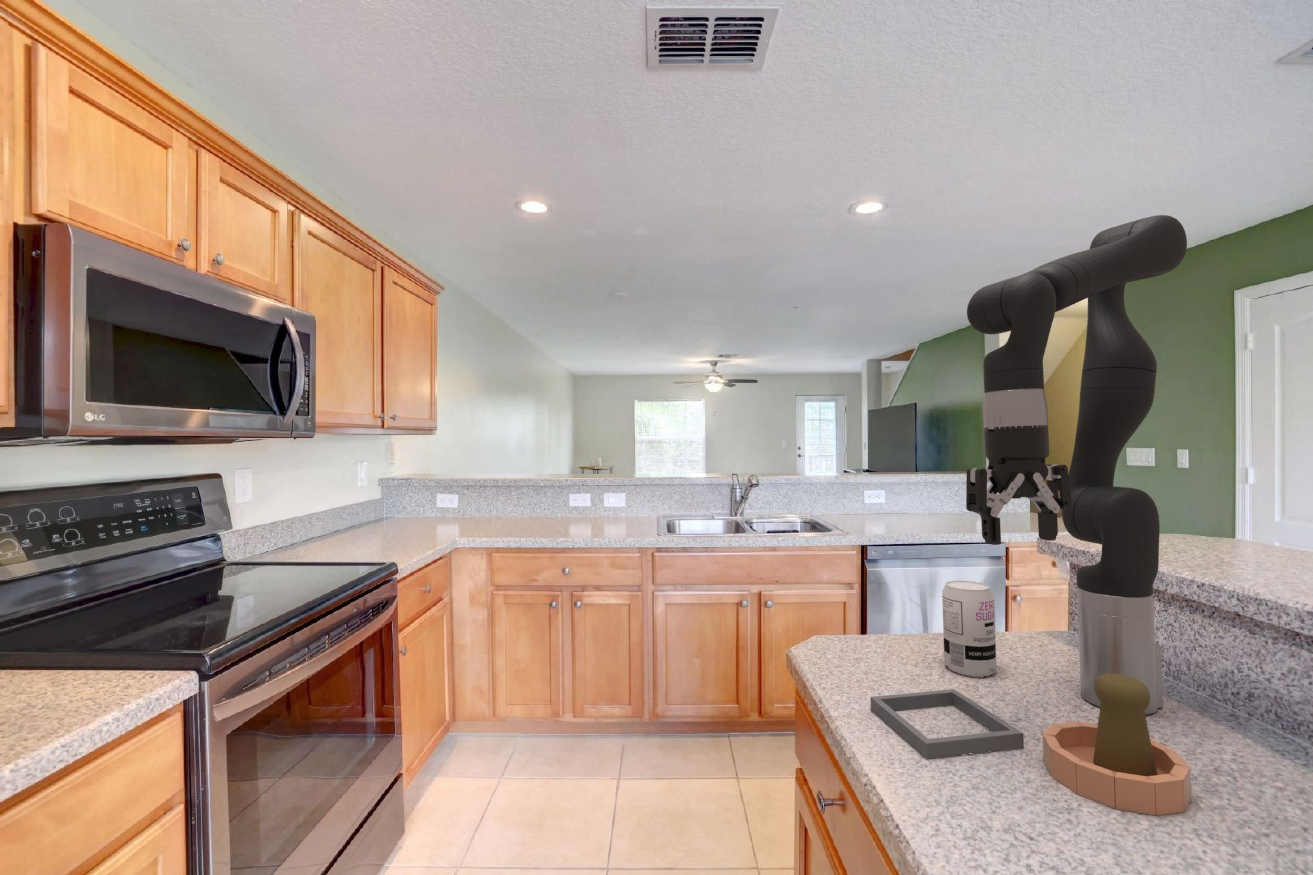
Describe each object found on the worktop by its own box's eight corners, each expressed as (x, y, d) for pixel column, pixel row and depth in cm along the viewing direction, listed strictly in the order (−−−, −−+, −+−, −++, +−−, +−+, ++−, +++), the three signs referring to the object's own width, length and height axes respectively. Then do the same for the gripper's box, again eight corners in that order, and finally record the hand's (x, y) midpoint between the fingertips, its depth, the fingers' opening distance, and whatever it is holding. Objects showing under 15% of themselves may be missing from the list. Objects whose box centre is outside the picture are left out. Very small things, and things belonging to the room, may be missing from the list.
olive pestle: (1169, 787, 65) (1165, 690, 65) (1106, 780, 67) (1103, 685, 67) (1141, 759, 71) (1137, 669, 71) (1084, 753, 73) (1081, 665, 73)
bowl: (1110, 744, 76) (1109, 717, 76) (1222, 806, 63) (1221, 774, 63) (1019, 754, 74) (1018, 727, 74) (1116, 821, 61) (1115, 787, 61)
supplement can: (948, 657, 108) (945, 577, 108) (999, 666, 103) (996, 583, 103) (940, 672, 101) (937, 587, 102) (994, 682, 97) (991, 593, 97)
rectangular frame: (954, 701, 90) (953, 688, 90) (1023, 748, 76) (1023, 732, 76) (870, 709, 88) (870, 696, 88) (926, 759, 74) (926, 743, 74)
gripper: (1037, 423, 84) (1042, 534, 84) (950, 426, 81) (955, 540, 81) (1084, 421, 76) (1089, 543, 76) (989, 424, 74) (994, 550, 74)
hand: (1020, 541), depth 79 cm, fingers open, 8 cm apart
